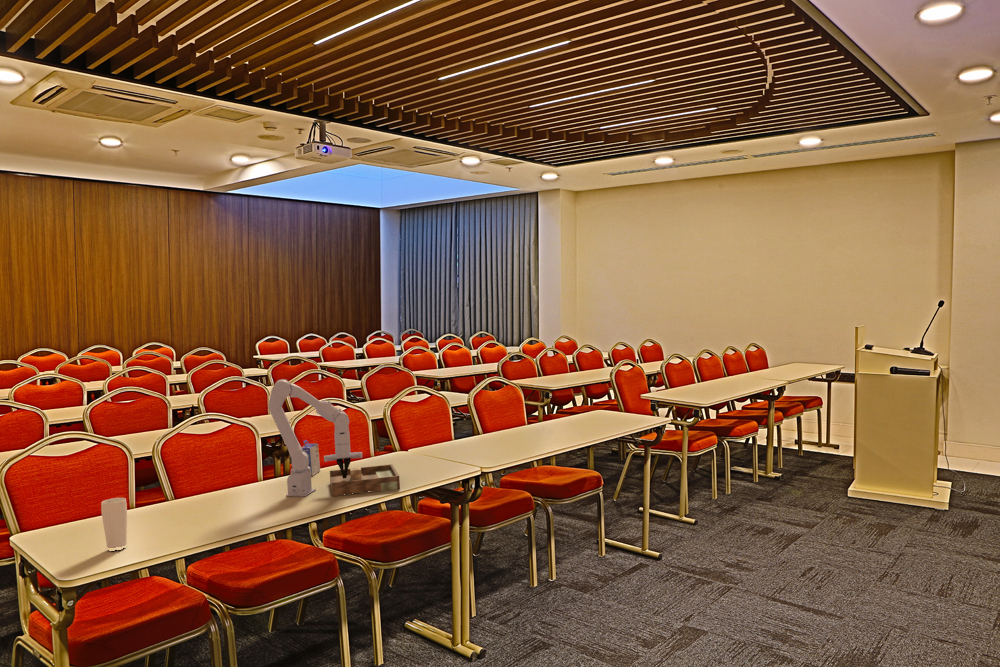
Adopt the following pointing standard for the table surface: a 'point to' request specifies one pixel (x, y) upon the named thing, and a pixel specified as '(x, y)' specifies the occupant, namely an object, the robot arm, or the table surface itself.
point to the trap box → (365, 480)
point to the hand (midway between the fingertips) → (344, 477)
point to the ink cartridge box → (312, 457)
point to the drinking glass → (115, 521)
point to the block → (355, 474)
